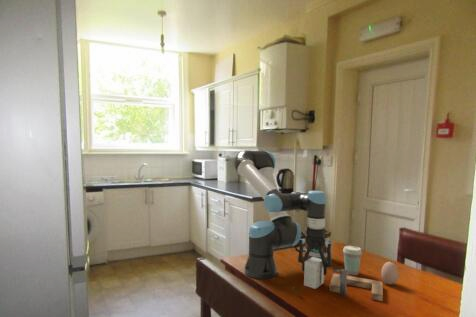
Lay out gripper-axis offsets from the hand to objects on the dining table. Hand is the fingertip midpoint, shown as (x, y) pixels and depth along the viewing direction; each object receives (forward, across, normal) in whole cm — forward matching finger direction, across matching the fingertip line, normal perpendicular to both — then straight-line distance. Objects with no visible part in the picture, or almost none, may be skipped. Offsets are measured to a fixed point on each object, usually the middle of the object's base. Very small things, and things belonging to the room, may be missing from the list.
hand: (314, 280), depth 135 cm
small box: (+2, 0, 0) cm, 2 cm away
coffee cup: (+2, +14, +22) cm, 26 cm away
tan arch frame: (+2, +17, +3) cm, 17 cm away
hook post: (+2, +11, -5) cm, 12 cm away
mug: (+2, -8, +35) cm, 36 cm away
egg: (+2, +30, +16) cm, 34 cm away
